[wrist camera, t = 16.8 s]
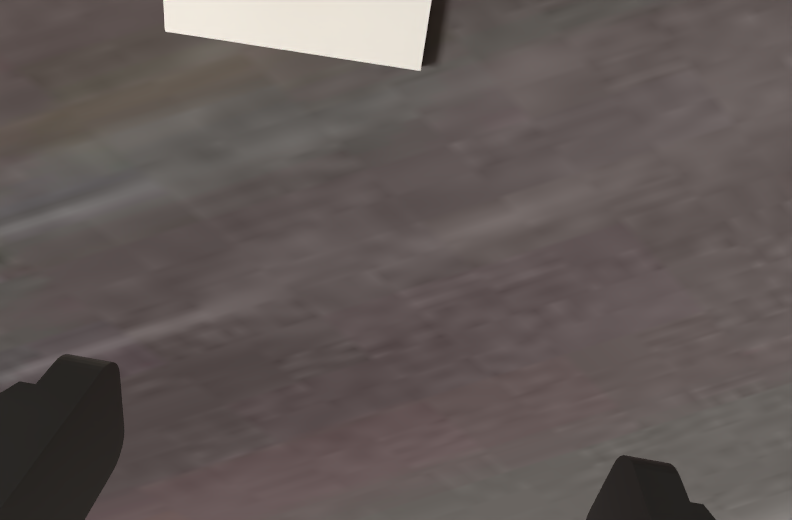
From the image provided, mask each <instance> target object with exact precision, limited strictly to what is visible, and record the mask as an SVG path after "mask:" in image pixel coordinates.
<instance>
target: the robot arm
mask: <svg viewBox="0 0 792 520" xmlns="http://www.w3.org/2000/svg"><path fill="white" fill-rule="evenodd" d="M123 439H124V420H123V408H122V396H121V383H120V372H119V368H118V365H117V364H116V363H114V362H108V361H103V360H97V359H92V358H86V357H80V356H75V355H69V354H65V355H62V356H61V357H59V358H58V359H57V360H56V361H55V362H54V363H53V364H52V366H51V367H50V368H49V369H48V370H47V372H46V373H45V374H44V375H43V376H42V377H41V379H40V380H39V381H38V382H37V383H36V384H31V383H25V382H20V381H19V382H18V383H16V384H14V385H13V386H11V387H10V388H8V389H6V390H5V391H3V392H1V393H0V520H85V518H86V516H87V515H88V513H89V511H90V509H91V508H92V506H93V504H94V503H95V501H96V499H97V497H98V496H99V494H100V492H101V491H102V489H103V487H104V485H105V484H106V482H107V480H108V479H109V477H110V475H111V473H112V472H113V470H114V468H115V466H116V464H117V461H118V459H119V456H120V453H121V449H122V445H123ZM586 520H716V519H715V518H714V517H713V516H712V514H711V513H710V512H709V511H708V510H707V508H706V507H705V506H704V505H703V504H698V503H692V502H690V501H689V498H688V496H687V493H686V491H685V488H684V486H683V483H682V481H681V478H680V476H679V474H678V471H677V470H676V468H675V467H674V466H673V465H671V464H670V463H664V462H659V461H653V460H647V459H642V458H636V457H631V456H625V455H622V456H620V457H619V458H618V459H617V460H616V461H615V463H614V465H613V467H612V469H611V471H610V473H609V474H608V476H607V478H606V480H605V482H604V484H603V486H602V488H601V490H600V492H599V494H598V496H597V498H596V500H595V501H594V503H593V505H592V507H591V509H590V511H589V513H588V516H587V519H586Z"/></svg>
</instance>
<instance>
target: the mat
mask: <svg viewBox="0 0 792 520" xmlns="http://www.w3.org/2000/svg"><path fill="white" fill-rule="evenodd" d="M163 1H164V21H165V31H166V32H173V33H179V34H186V35H192V36H199V37H205V38H212V39H218V40H224V41H231V42H237V43H244V44H250V45H257V46H263V47H270V48H276V49H283V50H289V51H296V52H302V53H308V54H315V55H321V56H328V57H334V58H341V59H347V60H354V61H360V62H367V63H373V64H380V65H386V66H393V67H399V68H405V69H412V70H418V71H421V64H422V58H423V52H424V45H425V39H426V33H427V26H428V20H429V13H430V7H431V1H432V0H163Z"/></svg>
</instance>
